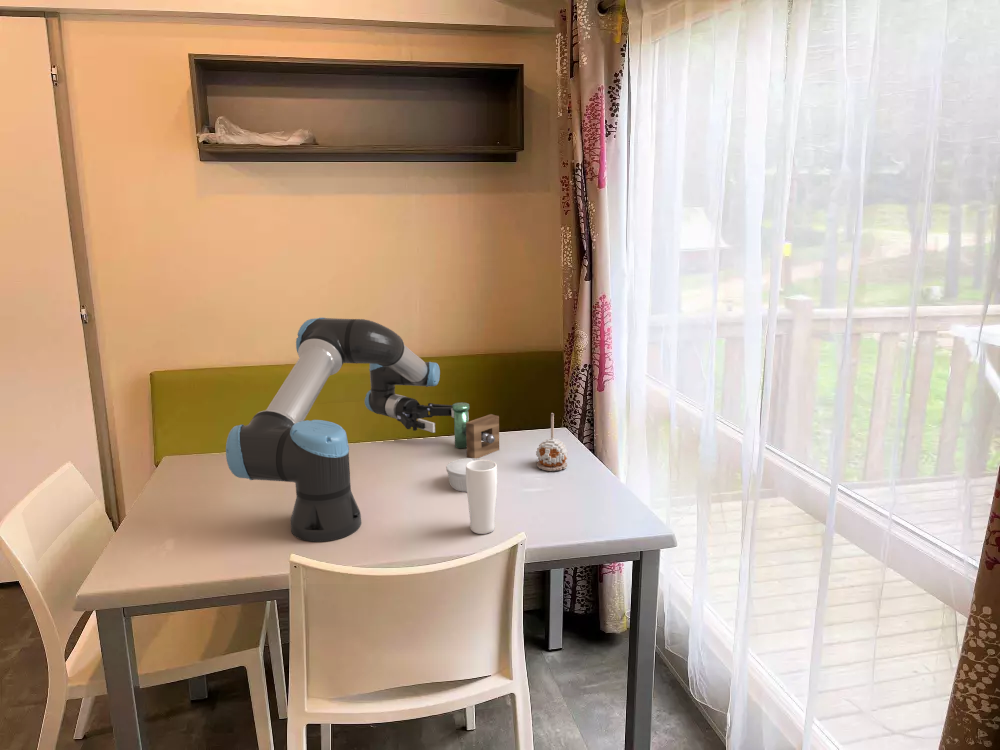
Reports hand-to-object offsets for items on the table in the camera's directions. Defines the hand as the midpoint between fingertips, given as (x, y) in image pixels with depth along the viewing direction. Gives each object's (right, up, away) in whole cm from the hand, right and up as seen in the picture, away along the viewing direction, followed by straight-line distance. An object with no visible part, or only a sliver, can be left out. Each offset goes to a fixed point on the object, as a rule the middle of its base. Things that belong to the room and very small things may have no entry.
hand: (451, 422), depth 213 cm
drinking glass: (+10, -20, -53) cm, 58 cm away
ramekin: (+7, -14, -29) cm, 33 cm away
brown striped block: (+9, -8, -8) cm, 15 cm away
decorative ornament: (+28, -11, -18) cm, 35 cm away
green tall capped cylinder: (+7, -7, -6) cm, 12 cm away
